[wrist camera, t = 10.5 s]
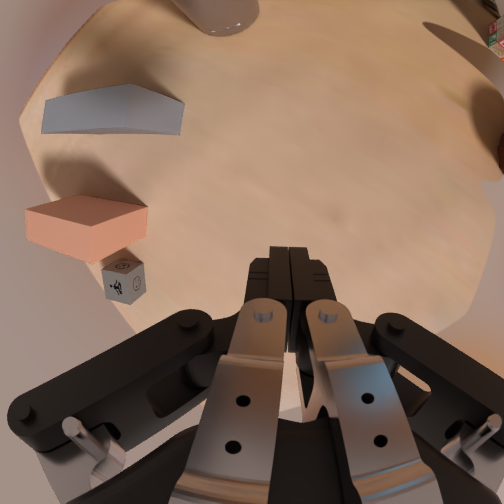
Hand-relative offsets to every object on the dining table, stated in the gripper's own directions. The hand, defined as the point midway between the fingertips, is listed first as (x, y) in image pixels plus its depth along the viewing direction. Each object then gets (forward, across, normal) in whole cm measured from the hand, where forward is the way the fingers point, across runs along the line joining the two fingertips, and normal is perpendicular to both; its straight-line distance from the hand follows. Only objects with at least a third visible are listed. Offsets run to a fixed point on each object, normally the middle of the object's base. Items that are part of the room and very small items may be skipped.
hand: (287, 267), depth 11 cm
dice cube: (+25, -23, -17) cm, 38 cm away
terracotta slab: (+26, -26, -7) cm, 38 cm away
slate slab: (+28, -20, +7) cm, 35 cm away
